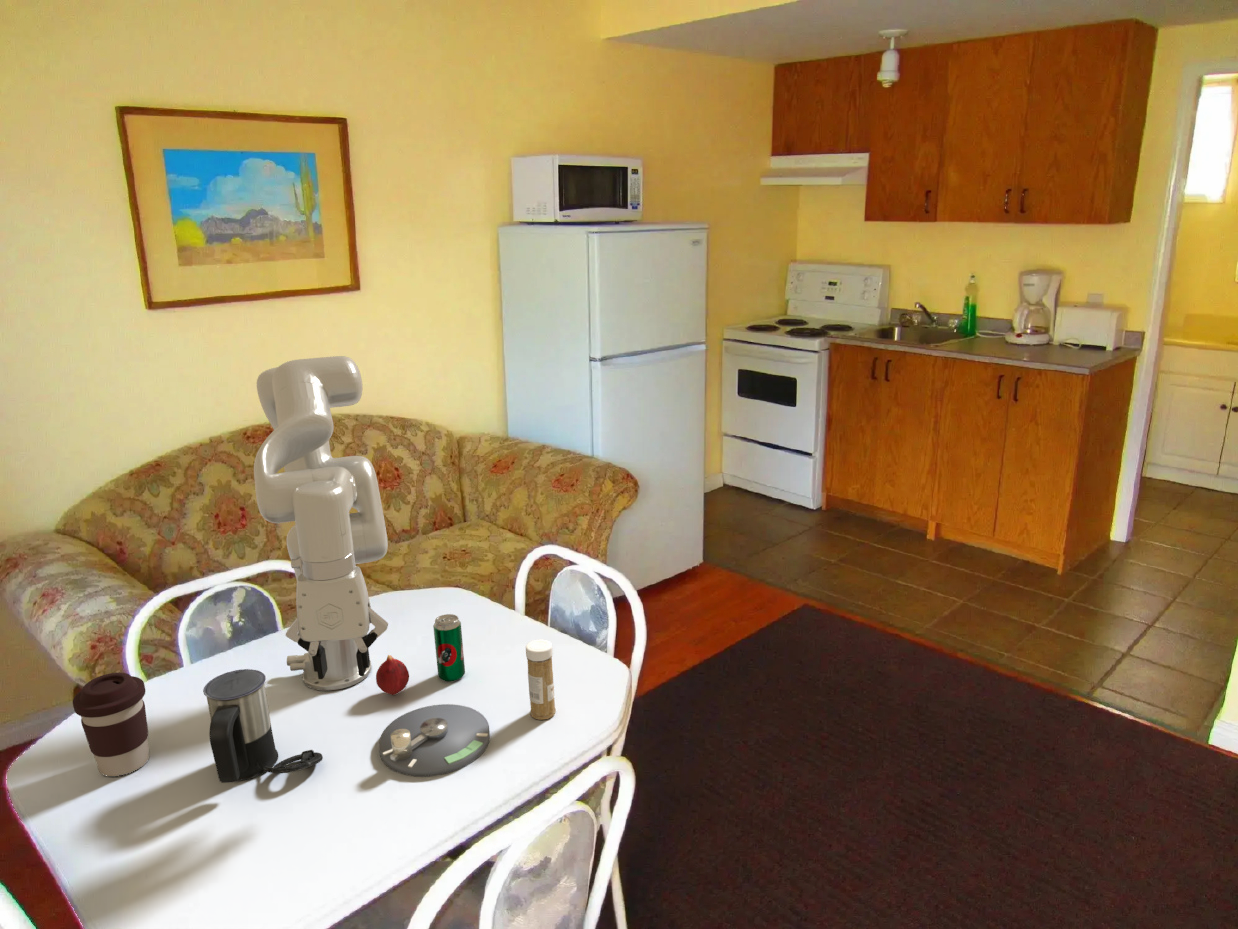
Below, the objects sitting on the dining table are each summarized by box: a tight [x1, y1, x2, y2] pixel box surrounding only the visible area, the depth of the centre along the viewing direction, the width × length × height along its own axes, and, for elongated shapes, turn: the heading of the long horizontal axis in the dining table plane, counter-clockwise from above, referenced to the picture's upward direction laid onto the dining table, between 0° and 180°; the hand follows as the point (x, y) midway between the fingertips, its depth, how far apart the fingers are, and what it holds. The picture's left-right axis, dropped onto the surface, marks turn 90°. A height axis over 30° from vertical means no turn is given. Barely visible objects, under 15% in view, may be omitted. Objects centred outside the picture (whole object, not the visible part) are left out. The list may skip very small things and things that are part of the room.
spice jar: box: [525, 639, 557, 721], centre depth 150 cm, size 5×5×14 cm
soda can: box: [433, 613, 466, 683], centre depth 162 cm, size 5×5×12 cm
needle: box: [390, 718, 448, 761], centre depth 140 cm, size 11×4×4 cm, turn 146°
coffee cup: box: [72, 672, 150, 777], centre depth 138 cm, size 10×10×15 cm
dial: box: [378, 703, 491, 778], centre depth 144 cm, size 18×18×2 cm
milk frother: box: [202, 668, 323, 784], centre depth 137 cm, size 14×16×15 cm
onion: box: [375, 654, 410, 696], centre depth 157 cm, size 6×6×8 cm
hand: (343, 672), depth 133 cm, fingers open, 5 cm apart
